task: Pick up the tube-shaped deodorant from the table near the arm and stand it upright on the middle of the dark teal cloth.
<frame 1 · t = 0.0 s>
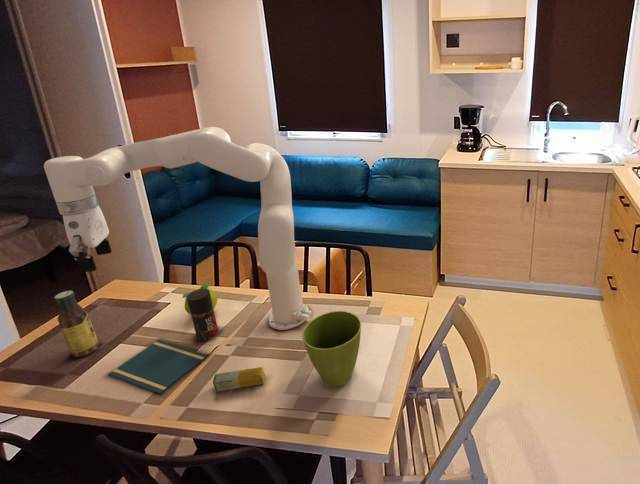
hand: (97, 262, 105), 31 cm above the table, tool pointing down, fingers open, 9 cm apart
medication box: (241, 386, 104), on the table
fruit: (204, 315, 132), on the table
flower pot: (338, 376, 107), on the table
sauce bottle: (85, 351, 117), on the table
deodorant: (208, 335, 123), on the table
cloth: (159, 365, 111), on the table
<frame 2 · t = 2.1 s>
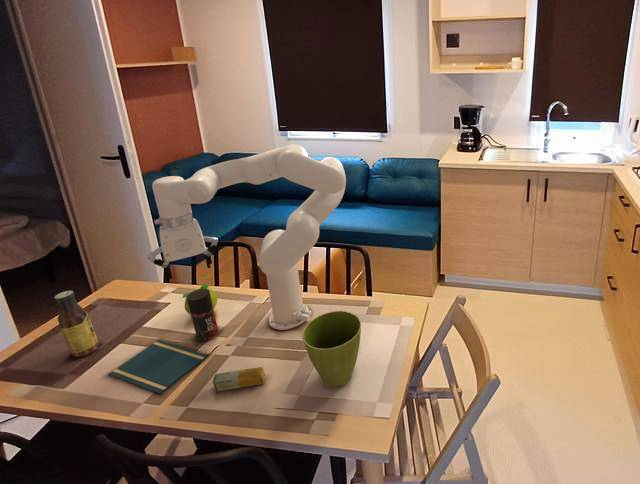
hand: (190, 271, 116), 23 cm above the table, tool pointing down, fingers open, 9 cm apart
nothing on the table moved.
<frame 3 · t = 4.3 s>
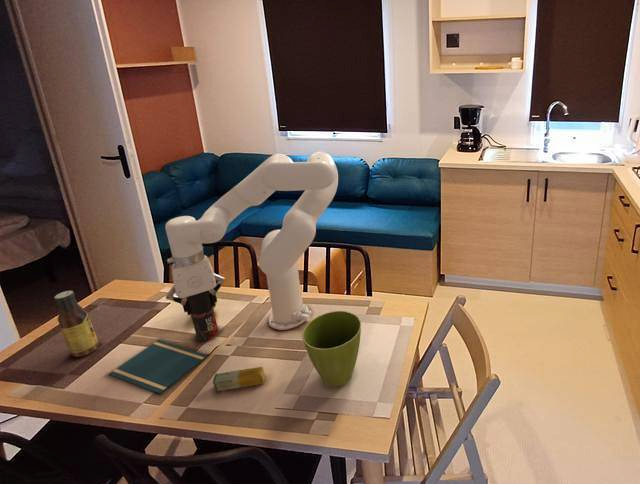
hand: (201, 308, 120), 10 cm above the table, tool pointing down, fingers closed on deodorant, 6 cm apart
deodorant: (208, 335, 123), on the table, touching gripper
everything else where it was.
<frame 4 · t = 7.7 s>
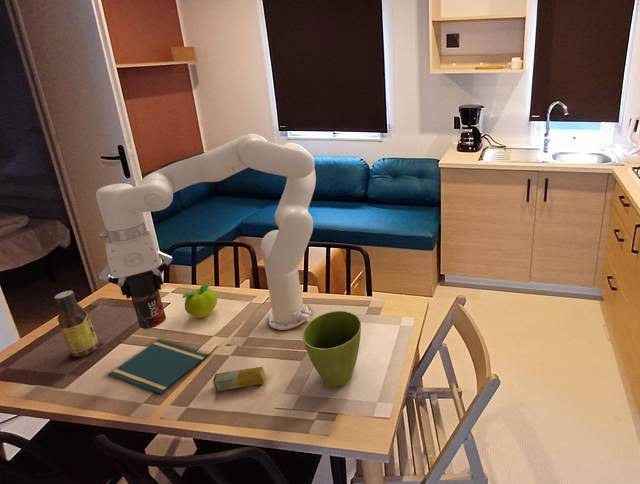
hand: (144, 291, 105), 24 cm above the table, tool pointing down, fingers closed on deodorant, 6 cm apart
deodorant: (153, 322, 108), point 14 cm above the table, touching gripper
everything else where it was.
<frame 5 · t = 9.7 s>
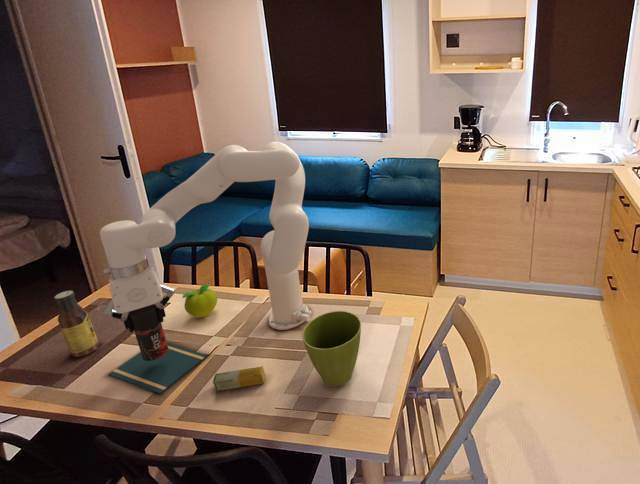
hand: (147, 323, 106), 14 cm above the table, tool pointing down, fingers closed on deodorant, 6 cm apart
deodorant: (155, 353, 110), point 4 cm above the table, touching gripper
everything else where it was.
when the fingers open (10 cm above the table, at t = 11.2 s): deodorant stays where it is, resting on cloth.
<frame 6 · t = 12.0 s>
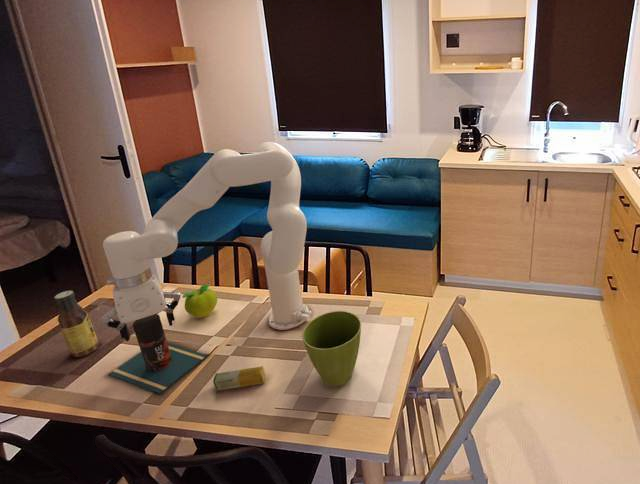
hand: (150, 330, 107), 12 cm above the table, tool pointing down, fingers open, 9 cm apart
deodorant: (159, 364, 111), resting on cloth
everything else where it was.
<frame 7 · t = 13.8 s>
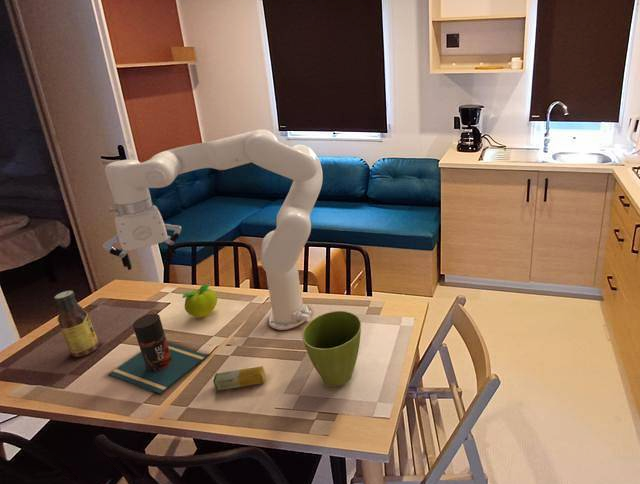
hand: (151, 261, 109), 29 cm above the table, tool pointing down, fingers open, 9 cm apart
nothing on the table moved.
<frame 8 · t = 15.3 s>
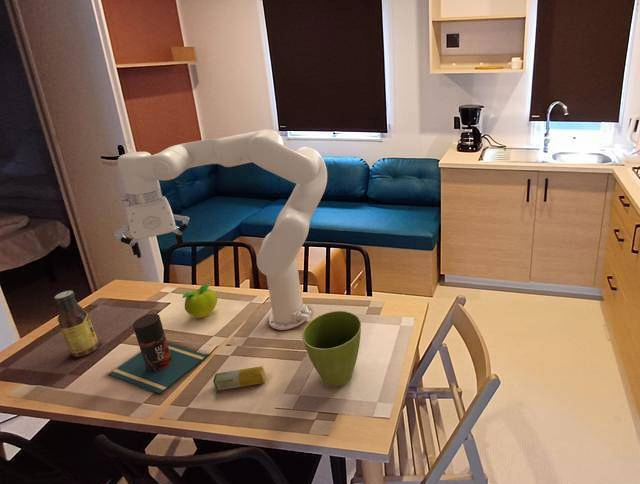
hand: (160, 251, 113), 30 cm above the table, tool pointing down, fingers open, 9 cm apart
nothing on the table moved.
at the end: deodorant inside the target area (0.1 cm from its centre), resting on cloth; deodorant tilted 0°; the gripper is holding nothing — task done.
